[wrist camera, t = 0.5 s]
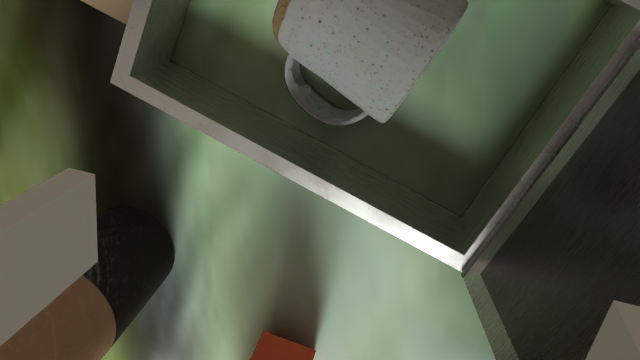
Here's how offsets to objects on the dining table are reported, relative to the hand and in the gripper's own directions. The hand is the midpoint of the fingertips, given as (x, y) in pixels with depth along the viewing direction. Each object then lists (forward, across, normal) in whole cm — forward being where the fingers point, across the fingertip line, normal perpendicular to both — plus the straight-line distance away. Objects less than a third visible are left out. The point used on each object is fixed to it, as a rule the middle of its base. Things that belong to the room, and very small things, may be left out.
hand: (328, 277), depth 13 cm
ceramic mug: (+22, -2, +3) cm, 22 cm away
